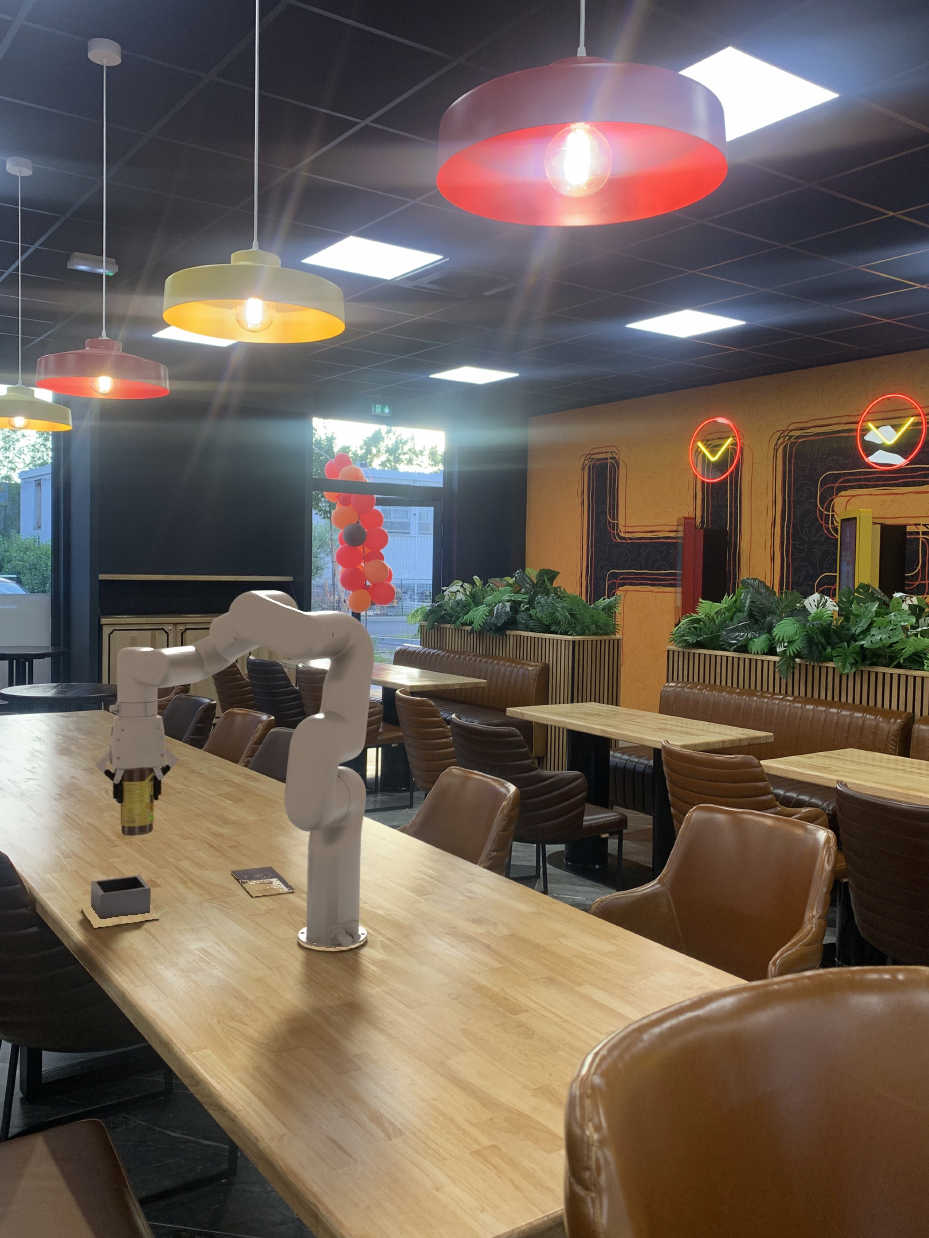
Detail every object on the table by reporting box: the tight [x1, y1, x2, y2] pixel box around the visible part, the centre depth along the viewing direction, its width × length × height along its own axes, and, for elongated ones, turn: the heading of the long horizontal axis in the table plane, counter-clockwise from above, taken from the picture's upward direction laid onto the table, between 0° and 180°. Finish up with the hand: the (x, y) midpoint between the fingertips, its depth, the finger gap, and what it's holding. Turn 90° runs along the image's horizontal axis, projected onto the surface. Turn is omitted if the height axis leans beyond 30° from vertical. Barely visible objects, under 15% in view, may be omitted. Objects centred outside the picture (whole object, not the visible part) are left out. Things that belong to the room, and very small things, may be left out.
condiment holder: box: [90, 874, 152, 919], centre depth 193 cm, size 12×12×6 cm
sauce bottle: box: [120, 768, 155, 837], centre depth 197 cm, size 6×6×20 cm
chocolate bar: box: [230, 866, 296, 892], centre depth 215 cm, size 9×1×18 cm
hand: (137, 799), depth 197 cm, fingers closed on sauce bottle, 6 cm apart
